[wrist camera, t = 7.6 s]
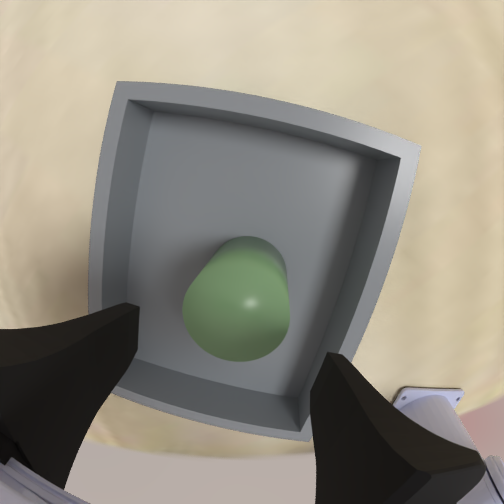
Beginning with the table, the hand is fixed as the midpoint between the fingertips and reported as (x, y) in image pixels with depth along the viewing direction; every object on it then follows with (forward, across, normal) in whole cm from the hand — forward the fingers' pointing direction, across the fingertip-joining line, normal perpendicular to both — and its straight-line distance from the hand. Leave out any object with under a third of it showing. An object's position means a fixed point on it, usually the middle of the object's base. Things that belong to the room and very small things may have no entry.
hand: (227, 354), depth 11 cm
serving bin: (+9, +1, 0) cm, 9 cm away
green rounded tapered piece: (+9, 0, 0) cm, 9 cm away
